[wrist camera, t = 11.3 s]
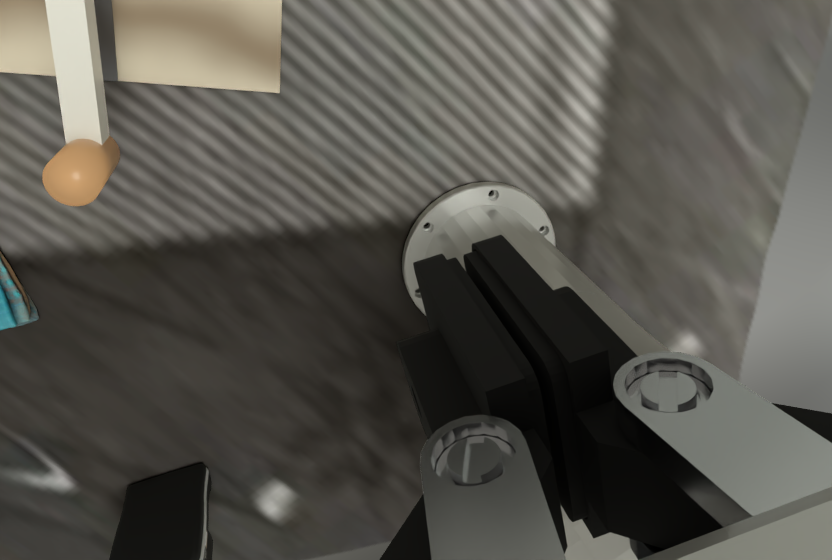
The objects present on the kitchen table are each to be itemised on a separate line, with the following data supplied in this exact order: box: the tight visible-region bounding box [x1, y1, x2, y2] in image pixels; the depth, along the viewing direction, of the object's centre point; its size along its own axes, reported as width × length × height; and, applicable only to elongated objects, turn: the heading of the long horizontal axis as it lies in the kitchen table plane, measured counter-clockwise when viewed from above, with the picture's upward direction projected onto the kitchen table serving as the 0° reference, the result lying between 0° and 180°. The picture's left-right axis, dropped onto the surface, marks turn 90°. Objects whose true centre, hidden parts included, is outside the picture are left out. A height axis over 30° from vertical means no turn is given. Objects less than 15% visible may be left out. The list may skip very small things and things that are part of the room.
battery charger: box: [109, 464, 213, 560], centre depth 50 cm, size 7×4×11 cm, turn 101°
